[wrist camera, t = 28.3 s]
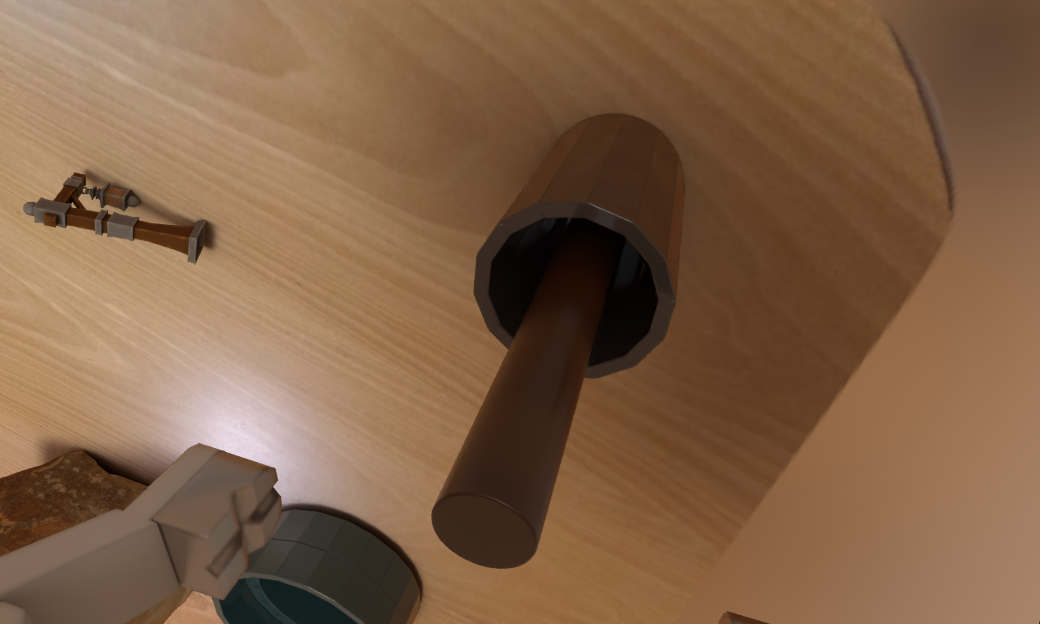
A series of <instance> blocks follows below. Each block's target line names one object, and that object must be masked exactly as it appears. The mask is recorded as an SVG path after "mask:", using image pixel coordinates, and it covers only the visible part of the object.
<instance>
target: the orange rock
mask: <svg viewBox="0 0 1040 624" xmlns="http://www.w3.org/2000/svg"><path fill="white" fill-rule="evenodd" d="M148 487H149V486H146V485H143V484H140V483H137V482H135V481H132V480H129V479H126V478H124V477H121V476H118V475H112V474H109V473H107V472H106V471H105V470H103V469H102V468H101V467H100V466H98V464H97V462H96V461H95V460H94V459H93V458H91V457H90V456H89V455H87V454H86V453H85V452H83V451H78V452H72V453H67V454H64V455H62V456H59V457H57V458H55V459H54V460H51V461H49V462H47V463H45V464H43V465H40V466H37V467H33V468H30V469H27V470H23V471H20V472H17V473H14V474H12V475H9V476H6V477H3V478H0V557H1V556H3V555H6V554H8V553H11V552H13V551H15V550H18V549H20V548H23V547H25V546H27V545H30V544H32V543H35V542H37V541H39V540H42V539H44V538H47V537H49V536H51V535H54V534H56V533H59V532H61V531H63V530H66V529H68V528H71V527H73V526H75V525H78V524H80V523H83V522H85V521H87V520H90V519H92V518H95V517H97V516H99V515H102V514H104V513H107V512H109V511H112V510H114V509H120V510H123V511H124V510H125V509H126V508H127V507H128V506H129V505H130V504H131V503H132V502H133V501H134V500H135V499H136V498H137V497H138V496H139V495H140V494H141V493H142V492H143V491H144V490H146V489H147V488H148ZM192 591H193V590H190V589H187V588H184V587H181V586H180V590H179V591H177V592H175V593H174V594H172V595H170V596H169V597H167V598H166V599H164V600H162V601H161V602H159V603H158V604H156V605H154V606H153V607H151V608H150V609H148V610H146V611H145V612H143V613H142V614H140V615H138V616H137V617H135V618H133V619H132V620H130V621H129V622H127V623H125V624H164V622H165V621H166V620H167V619H168V618H169V616H170V615H171V614H172V613H173V612H174V611H175V610H176V609H177V608H178V607H179V606H181V605H182V604H183V603H184V602H185V601H186V599H187V598H188V597H189V595H190V594H191V592H192Z"/></svg>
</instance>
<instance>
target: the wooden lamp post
mask: <svg viewBox="0 0 1040 624" xmlns="http://www.w3.org/2000/svg"><path fill="white" fill-rule="evenodd" d="M63 185H64V187H63V189H62V190H61V191H60V193H59V194H58V195H57V196H56V198H55V199H54V200H53V201H52V200H47V199H44V198H42V197H41V198H40V199H39V201H38V202H37V203H35V202H27V203H26V204H24V206H23V210H24V212H25V213H26V214H28V215H30V216H34V218H35V223H44V225H46V226H51V227H56V226H60V227H63V228H66V226H67V225H69V226H74V227H79V228H84V229H89V230H94V231H95V234H99V235H101V236H102V234H103V233H107V236H108V237H117V238H123V239H127V240H130V241H133V240H134V239H139V240H143V241H148V242H151V243H154V244H158V245H161V246H164V247H167V248H171V249H174V250H177V251H179V252H182V253H184V254H187V255H188V262H191V263H193V264H194V265H195V263H196V261H197V259H198V257H199V255H200V253H201V251H202V248H203V246H204V235H205V222H206V221H199V220H198V221H197V223H196V225H195V226H174V225H165V224H155V223H149V222H144V221H139V217H130V216H126V215H121V214H118V213H116V212H114V213H113V214H112V215H111V214H108V210H107V211H105V210H101V211H100V212H94V211H89V210H86V209H85V208H84V206H83V205H82V203H81V202H80V201H79V199H78V198H79V196H80V195H81V194H90V196H91V198H92V200H93V198H94V197H95V196H96V199H98V198H99V200H100V203H101V208H104V206H105V205H109V206H113V207H116V208H119V209H121V210H123V211H125V210H126V208H127V207H128V206H130V207H137V206H138V205H139V199H138V198H137V197H135V196H130V189H128V190H123V189H117V188H112V187H110V183H107V184H106V186H105V187H104V188H103V189H100V188H99V189H98V190H97V187H96V186H95V187H94V188H92V189H87V188H86V187H84V186H85V185H86V175H83V174H79V173H75V172H74V174H73V176H72V175H71V178H69V177H68V179H67V180H66V181H65V182H64V184H63ZM84 188H85V189H86V190H85V192H86V193H84V192H83V189H84ZM88 190H90V193H89V191H88ZM72 202H73V203H74V205H75V206H76V207H77V208H72V207H71V204H72Z"/></svg>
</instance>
